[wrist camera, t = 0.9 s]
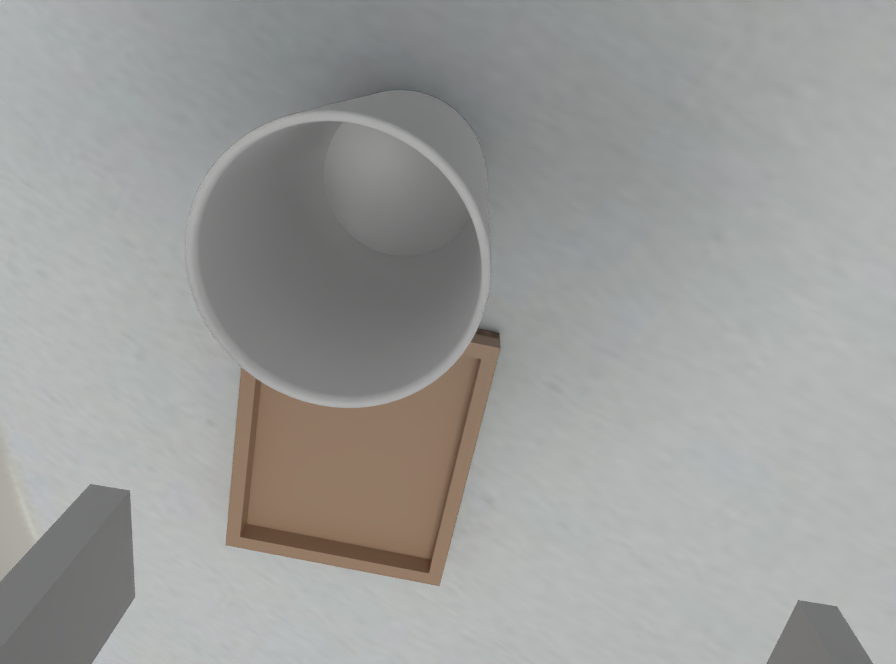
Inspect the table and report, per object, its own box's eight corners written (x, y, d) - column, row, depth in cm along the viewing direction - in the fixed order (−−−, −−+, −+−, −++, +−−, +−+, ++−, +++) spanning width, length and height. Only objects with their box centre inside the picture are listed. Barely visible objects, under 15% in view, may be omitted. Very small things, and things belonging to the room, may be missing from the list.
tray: (260, 284, 34) (247, 296, 33) (499, 333, 35) (500, 348, 33) (237, 523, 40) (225, 545, 39) (441, 562, 41) (439, 586, 39)
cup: (288, 188, 32) (127, 289, 18) (388, 51, 30) (297, 33, 15) (416, 290, 34) (367, 459, 19) (521, 168, 32) (557, 256, 17)
